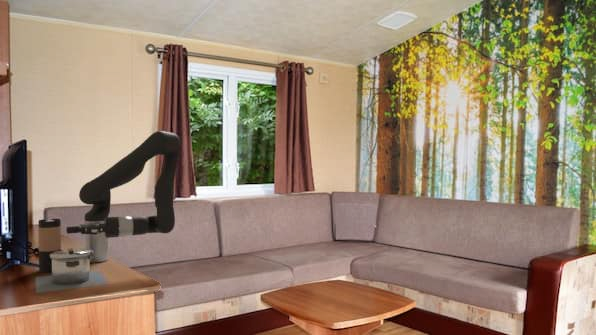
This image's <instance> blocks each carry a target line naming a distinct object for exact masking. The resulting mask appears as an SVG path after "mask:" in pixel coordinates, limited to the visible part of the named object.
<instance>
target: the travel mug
mask: <svg viewBox="0 0 596 335" xmlns="http://www.w3.org/2000/svg"><path fill="white" fill-rule="evenodd" d="M61 222H62V220H61V219H60V218H52V219H50V220H48V219H45V218H44V219H39V220H38V268H39V270H38V271H39V273H41V274H52V258H50V254H51V253H53V252H56V251H61V250H62V231H61V230H62V229H61V228H62V227H61V226H62V224H61Z"/></svg>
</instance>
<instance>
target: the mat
mask: <svg viewBox="0 0 596 335" xmlns="http://www.w3.org/2000/svg"><path fill="white" fill-rule="evenodd" d="M34 279H35V280H34V281H35V294H38V293H48V292H56V291H65V290H73V289H81V288H89V287H96V286H106V285H107V286H108V285H109V282H108V281H107V278H106V277H105V275H104V274H103V272H102V270H101V269H98V270H90V279H89V280H88V281H86V282H83V283H80V284H74V285H55V284H53V283H52V274H50V275H44V276H36V277H35V278H34Z"/></svg>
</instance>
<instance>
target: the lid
mask: <svg viewBox="0 0 596 335" xmlns="http://www.w3.org/2000/svg"><path fill="white" fill-rule="evenodd" d="M90 254H91V255H94V254H95V253H94V251H93V250H90V249H85V248H73V247H72V248H68V249H61V251H56V252H53V253H51V254H50V258H52V259H72V258H79V257H83V256H87V255H90Z"/></svg>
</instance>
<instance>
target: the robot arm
mask: <svg viewBox="0 0 596 335" xmlns="http://www.w3.org/2000/svg"><path fill="white" fill-rule="evenodd" d="M180 151H181V139H180V137H179V135H177V134H176V133H174V132H170V131H164V130H158V131H155V132H153V133H152V134H150V135H149V136H147V138H146V139H145V140H143V142H142V143H140V145H139V146H137V147H136V148H135V149H133V150H132V151H131V152H130V153H129V154H127V155H126V156H124V157H123V158H122V159H120V160H119V161H117V162H116V163H114V164H113V165H112V166H111V167H110V168H108V169H106V171H104V172H103V173H102V174H100V175H99V176H97V177H95V178H94V179H92V180H90V181H88V182H86V183H85V184H84V185H82V186H81V188H80V190H79V193H78V196H79V200H80V201H81V202H82V203H83V204H85V205H92V208H90V210H89V211H88V212H86V213H85V214H84V223H82V224H79V225H73V226H67V227H66V234H80V235H84V249H90V250H93V251H94V253H95V254H94V255H93V259H90V263H101V262H105V261H108V260H109V239H112V238H123V237H125V238H126V237H129V236H130V237H131V236H139V235H140V236H141V235H145V234H159V233H160V234H169V233H171V232H172V231H173V230H174V227H175V224H176V223H175V221H176V216H175V209H174V200H175V199H174V198H175V195H174V194H175V193H174V192H175V191H174V190H175V179H176V173H177V168H178V162H179V156H180V153H181V152H180ZM159 155H162V156H163V161H164V162H163V168H162V170H161V172H160V175H159V176H158V179H157V181H156V183H155V189H154V190H155V191H154V205H155V208H156V215H155V214H154V215H147V216H144V215H141V216H140V215H139V216H137V215H136V216H135V215H134V216H127V215H126V216H109V215H110V212H111V198H112V196H111V192H112V191H111V190H112V189H116V188H119V187H121V186H124V185H127V184H128V183H130V182H131V181H133V180H134V179H136V178H137V177H138V176H140V175H141V174H142V173H143V172H144V170H145V166H146V164H147V162H148V161H149V160H151V159H153V158H155V157H156V156H159Z"/></svg>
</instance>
